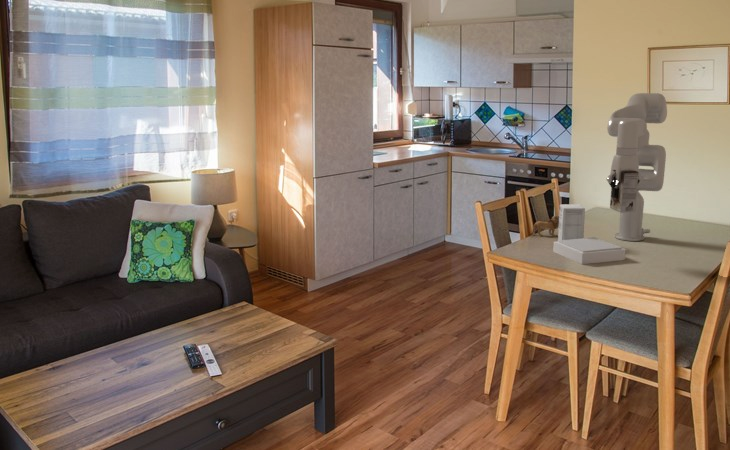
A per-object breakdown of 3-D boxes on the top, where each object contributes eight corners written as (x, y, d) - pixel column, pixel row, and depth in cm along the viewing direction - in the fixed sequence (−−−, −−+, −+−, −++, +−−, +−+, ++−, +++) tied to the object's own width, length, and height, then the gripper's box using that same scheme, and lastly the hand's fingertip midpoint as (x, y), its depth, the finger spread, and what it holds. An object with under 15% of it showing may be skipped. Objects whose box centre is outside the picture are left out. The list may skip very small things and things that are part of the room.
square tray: (593, 248, 284) (594, 236, 283) (624, 259, 265) (625, 247, 264) (553, 251, 278) (553, 240, 277) (581, 264, 260) (582, 251, 259)
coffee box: (609, 208, 266) (611, 168, 262) (624, 207, 266) (627, 167, 263) (620, 212, 257) (623, 171, 253) (635, 212, 258) (639, 171, 254)
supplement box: (579, 241, 296) (581, 204, 292) (583, 246, 287) (586, 208, 283) (557, 240, 297) (559, 203, 293) (561, 245, 288) (563, 207, 284)
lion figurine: (556, 233, 312) (557, 214, 310) (562, 235, 307) (563, 216, 305) (527, 235, 308) (528, 216, 306) (533, 237, 303) (534, 218, 301)
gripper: (638, 150, 263) (634, 194, 267) (601, 152, 257) (598, 197, 261) (651, 152, 256) (647, 197, 260) (614, 154, 250) (611, 200, 254)
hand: (623, 196), depth 260 cm, fingers closed on coffee box, 7 cm apart
